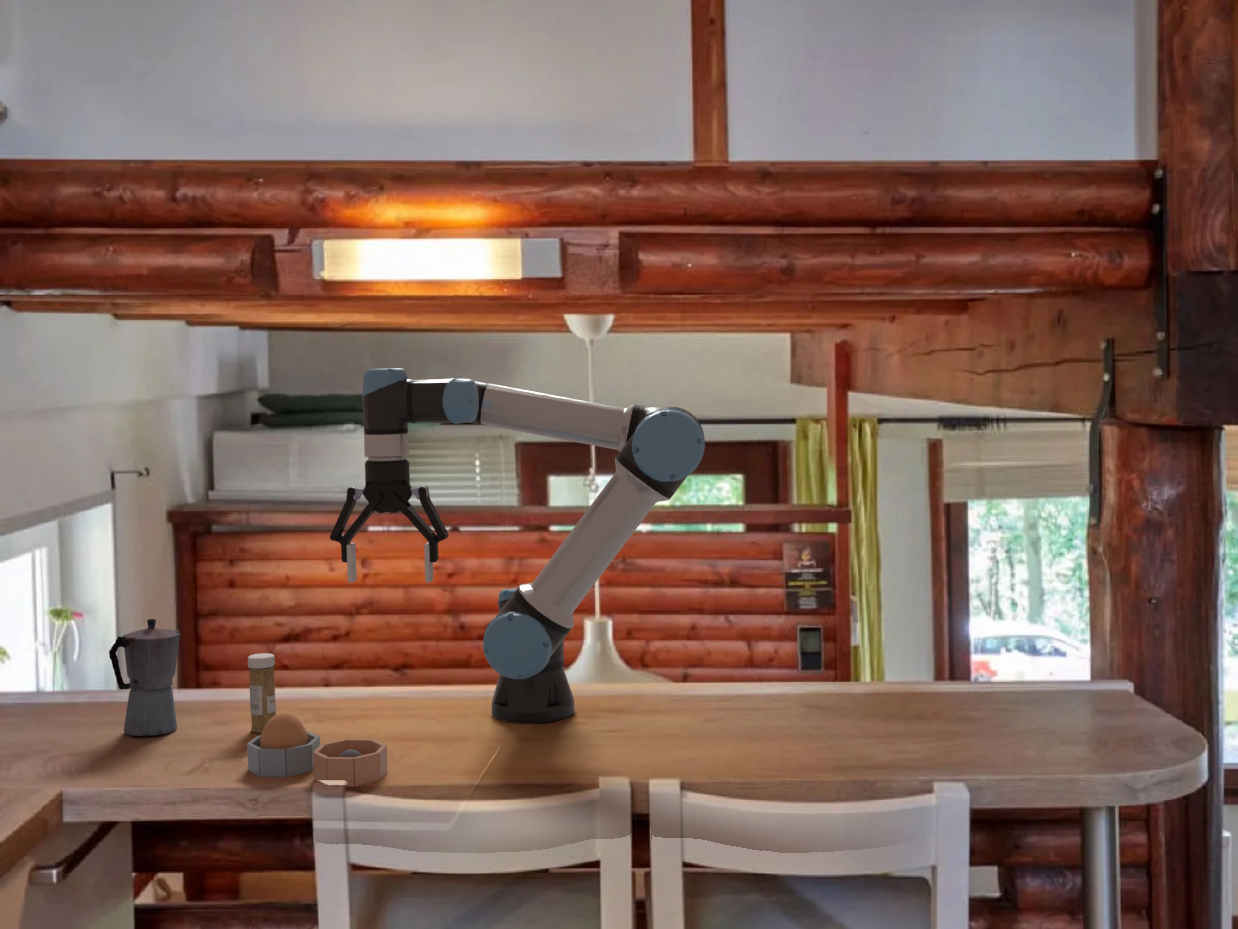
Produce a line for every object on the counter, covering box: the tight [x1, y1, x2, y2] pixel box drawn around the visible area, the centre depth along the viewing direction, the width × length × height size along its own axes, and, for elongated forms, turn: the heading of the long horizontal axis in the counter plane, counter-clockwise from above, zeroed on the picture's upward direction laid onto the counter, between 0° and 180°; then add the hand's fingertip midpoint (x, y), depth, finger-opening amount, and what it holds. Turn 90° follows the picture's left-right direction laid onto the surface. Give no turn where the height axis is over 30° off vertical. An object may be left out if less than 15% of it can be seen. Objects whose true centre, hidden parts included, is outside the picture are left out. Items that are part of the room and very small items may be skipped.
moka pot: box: [108, 618, 182, 737], centre depth 234 cm, size 10×15×20 cm, turn 155°
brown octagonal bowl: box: [313, 738, 388, 787], centre depth 206 cm, size 10×10×5 cm
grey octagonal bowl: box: [246, 730, 321, 778], centre depth 211 cm, size 10×10×5 cm
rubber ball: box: [339, 749, 362, 757], centre depth 206 cm, size 4×4×4 cm
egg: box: [260, 712, 308, 749], centre depth 211 cm, size 7×7×8 cm
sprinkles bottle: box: [247, 652, 277, 734], centre depth 235 cm, size 5×5×14 cm
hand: (390, 581), depth 230 cm, fingers open, 13 cm apart
